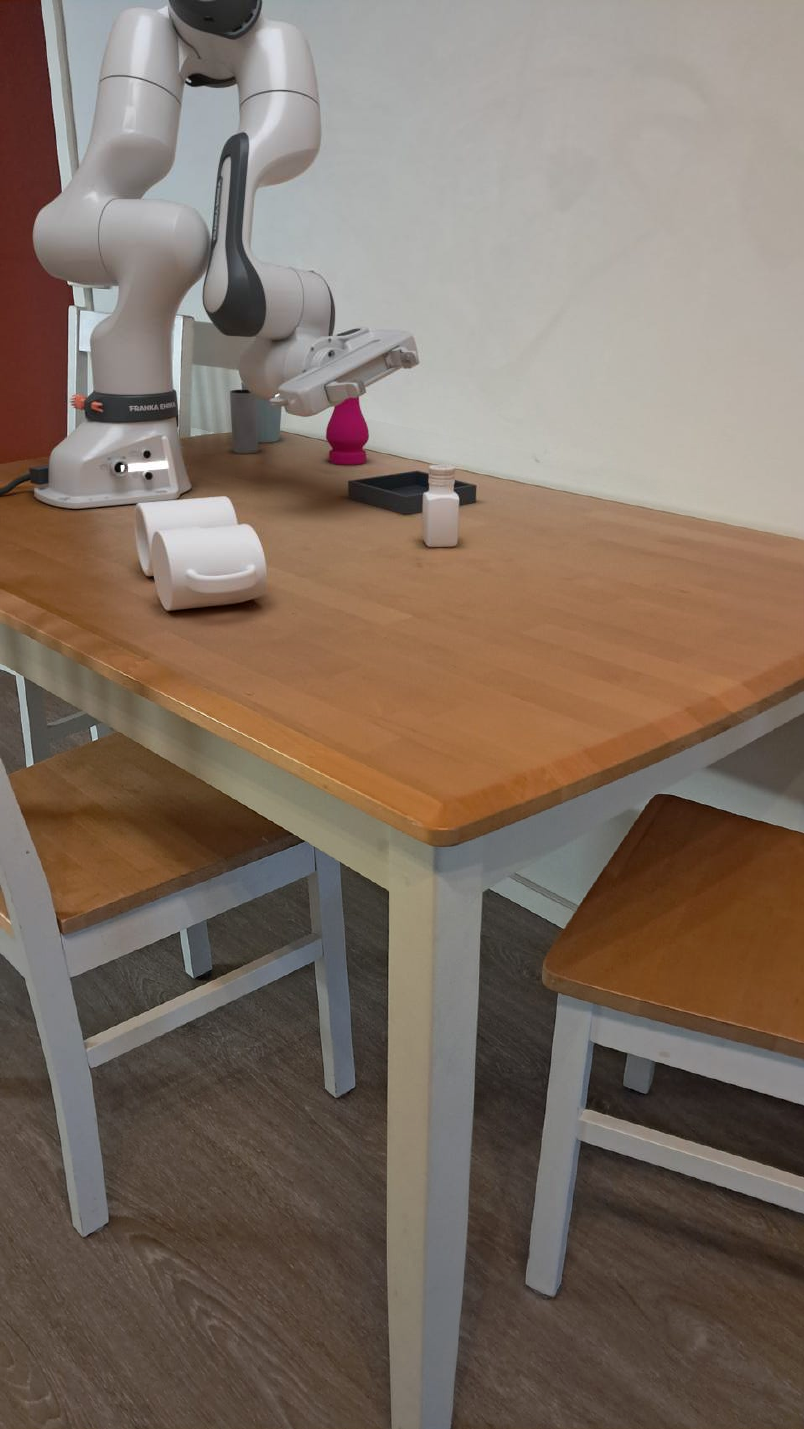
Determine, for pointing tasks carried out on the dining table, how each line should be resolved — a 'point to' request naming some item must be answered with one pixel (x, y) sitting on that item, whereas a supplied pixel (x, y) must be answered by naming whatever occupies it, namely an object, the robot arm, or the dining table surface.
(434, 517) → the pepper shaker
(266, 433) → the cup
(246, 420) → the planter
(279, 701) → the dining table surface
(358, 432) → the pepper mill
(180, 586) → the mug
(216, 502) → the mug
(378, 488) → the spice tray
